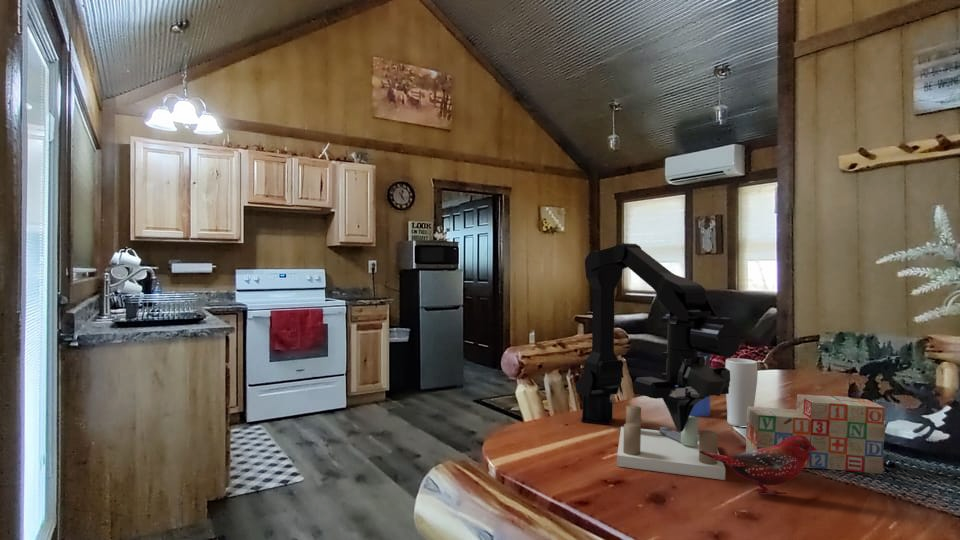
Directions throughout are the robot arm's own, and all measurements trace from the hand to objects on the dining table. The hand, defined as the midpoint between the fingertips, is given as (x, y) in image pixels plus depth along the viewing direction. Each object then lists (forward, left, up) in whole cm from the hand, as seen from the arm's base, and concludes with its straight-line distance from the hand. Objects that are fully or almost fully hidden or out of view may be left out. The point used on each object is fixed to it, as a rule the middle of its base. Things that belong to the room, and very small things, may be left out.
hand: (679, 430), depth 101 cm
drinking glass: (+15, +28, -5) cm, 32 cm away
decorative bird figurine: (+11, -12, -5) cm, 17 cm away
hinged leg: (0, +5, -3) cm, 5 cm away
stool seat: (-2, +1, -5) cm, 6 cm away
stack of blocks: (+24, +7, -6) cm, 25 cm away
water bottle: (+5, +36, -5) cm, 36 cm away
